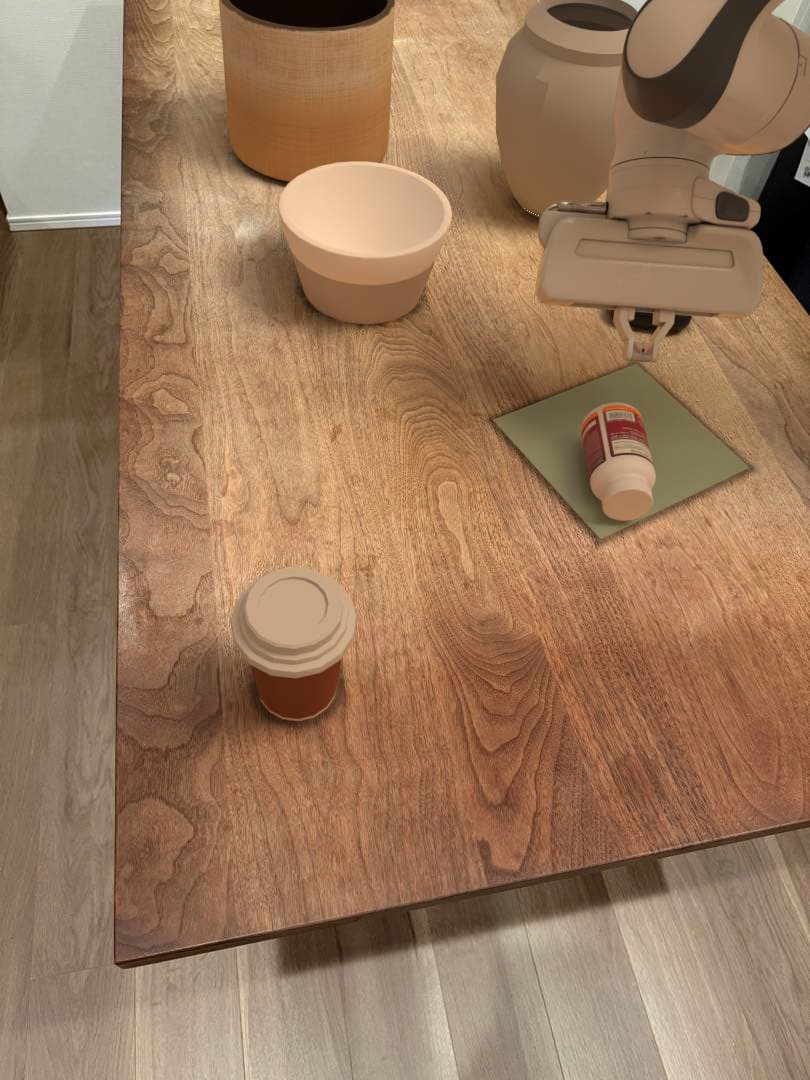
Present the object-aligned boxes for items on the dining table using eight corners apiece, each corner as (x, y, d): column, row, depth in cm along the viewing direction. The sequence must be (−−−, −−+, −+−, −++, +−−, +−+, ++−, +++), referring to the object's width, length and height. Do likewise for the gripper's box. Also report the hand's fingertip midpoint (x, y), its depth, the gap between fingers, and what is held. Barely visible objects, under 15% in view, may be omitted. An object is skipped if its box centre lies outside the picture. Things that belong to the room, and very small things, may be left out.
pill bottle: (597, 451, 92) (611, 534, 85) (569, 417, 88) (581, 501, 81) (652, 426, 89) (672, 510, 82) (625, 390, 85) (643, 474, 78)
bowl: (248, 281, 104) (241, 197, 95) (365, 224, 113) (368, 143, 105) (359, 363, 96) (362, 280, 88) (475, 294, 106) (488, 213, 97)
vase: (484, 244, 112) (517, 42, 93) (472, 164, 124) (499, -29, 105) (632, 250, 114) (695, 53, 95) (606, 171, 126) (657, -18, 107)
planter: (329, 98, 133) (330, -53, 117) (419, 164, 123) (433, 9, 107) (200, 134, 124) (182, -25, 108) (286, 209, 114) (280, 46, 98)
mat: (635, 366, 100) (636, 363, 99) (748, 469, 91) (749, 467, 90) (492, 422, 92) (492, 419, 92) (599, 541, 83) (600, 538, 83)
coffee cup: (324, 623, 75) (324, 537, 66) (372, 709, 71) (380, 630, 61) (224, 663, 72) (209, 579, 63) (267, 756, 67) (258, 681, 58)
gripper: (547, 187, 76) (533, 349, 78) (779, 206, 77) (760, 366, 78) (535, 206, 82) (522, 355, 84) (749, 223, 83) (732, 371, 84)
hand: (639, 361), depth 81 cm, fingers closed
